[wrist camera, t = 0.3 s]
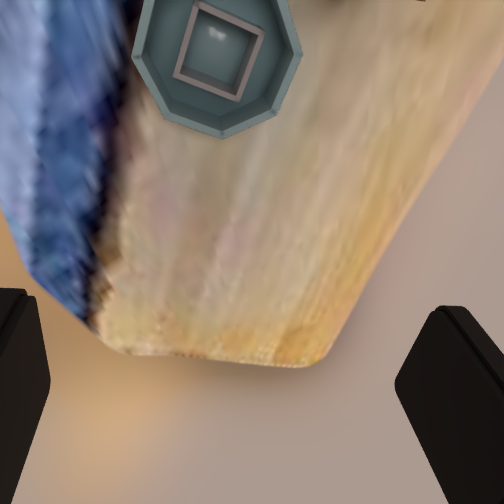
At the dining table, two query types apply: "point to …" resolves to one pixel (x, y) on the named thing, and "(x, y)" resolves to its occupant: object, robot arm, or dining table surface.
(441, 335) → the robot arm
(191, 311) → the dining table surface
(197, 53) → the octagonal socket dish
